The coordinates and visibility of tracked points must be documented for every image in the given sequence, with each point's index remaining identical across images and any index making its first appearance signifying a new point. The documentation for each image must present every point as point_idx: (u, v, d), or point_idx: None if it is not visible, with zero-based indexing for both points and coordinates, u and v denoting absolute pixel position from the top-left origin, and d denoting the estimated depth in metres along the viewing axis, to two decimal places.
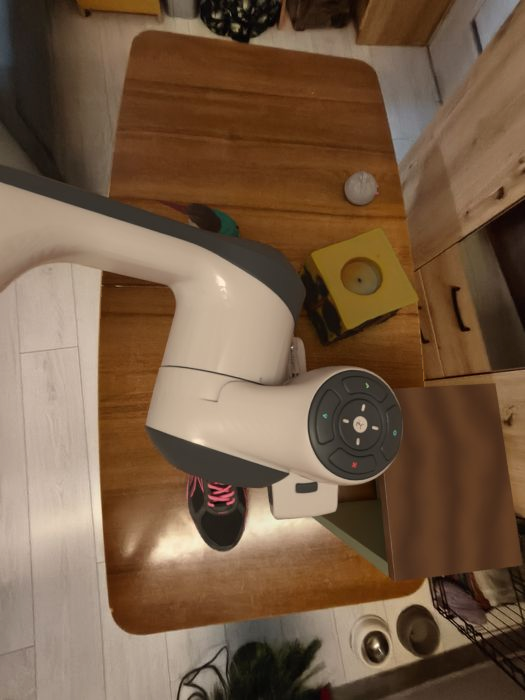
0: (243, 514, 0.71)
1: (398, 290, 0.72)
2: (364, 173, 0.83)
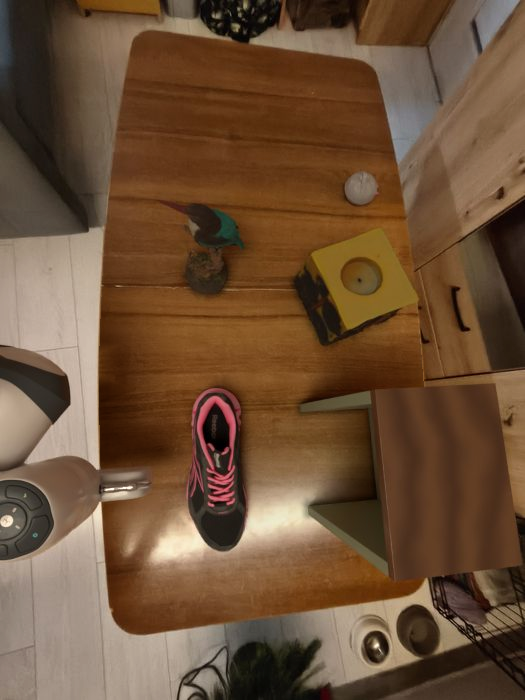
0: (243, 514, 0.71)
1: (398, 290, 0.72)
2: (364, 173, 0.83)
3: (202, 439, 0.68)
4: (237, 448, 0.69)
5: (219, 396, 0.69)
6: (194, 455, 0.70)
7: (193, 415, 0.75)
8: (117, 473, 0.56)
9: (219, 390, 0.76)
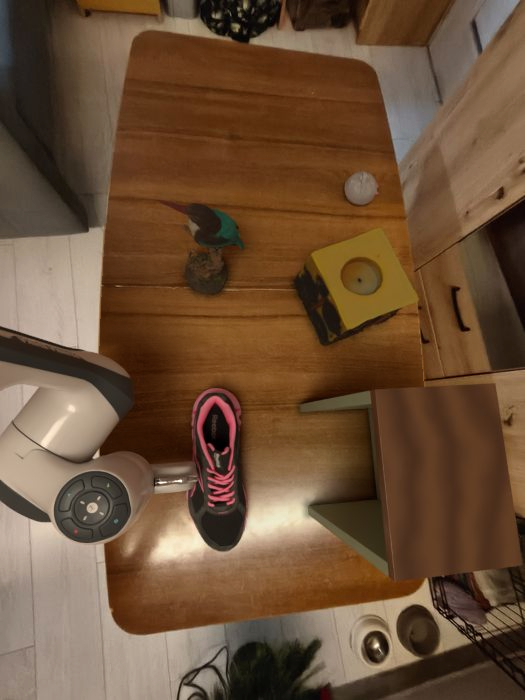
0: (243, 514, 0.71)
1: (398, 290, 0.72)
2: (364, 173, 0.83)
3: (202, 439, 0.68)
4: (237, 448, 0.69)
5: (219, 396, 0.69)
6: (194, 455, 0.70)
7: (193, 415, 0.75)
8: (168, 467, 0.60)
9: (219, 390, 0.76)
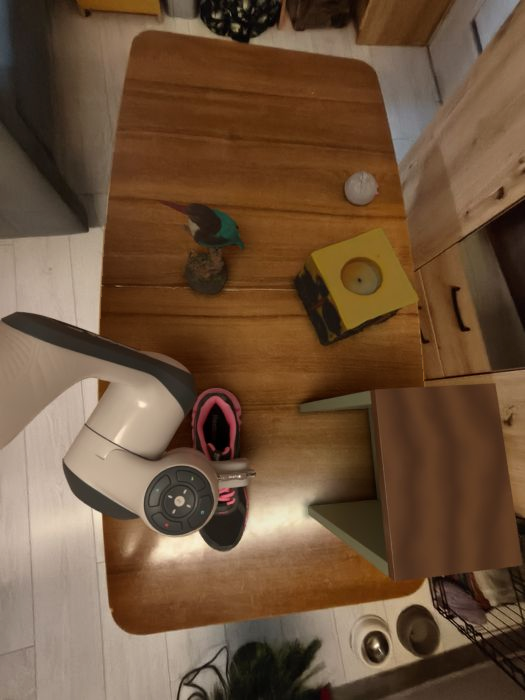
0: (243, 514, 0.71)
1: (398, 290, 0.72)
2: (364, 173, 0.83)
3: (202, 439, 0.68)
4: (237, 448, 0.69)
5: (219, 396, 0.69)
6: None
7: (193, 415, 0.75)
8: (227, 463, 0.61)
9: (220, 390, 0.76)
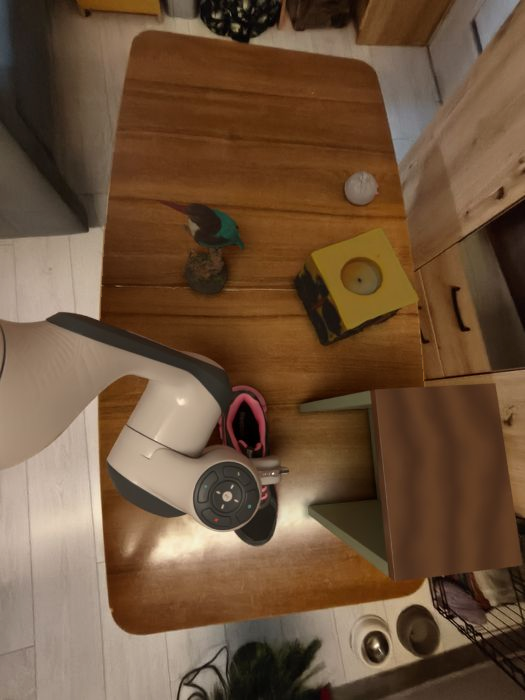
0: (275, 508, 0.72)
1: (398, 290, 0.72)
2: (364, 173, 0.83)
3: (233, 436, 0.69)
4: (267, 444, 0.70)
5: (248, 393, 0.69)
6: None
7: None
8: (260, 461, 0.62)
9: (245, 387, 0.77)
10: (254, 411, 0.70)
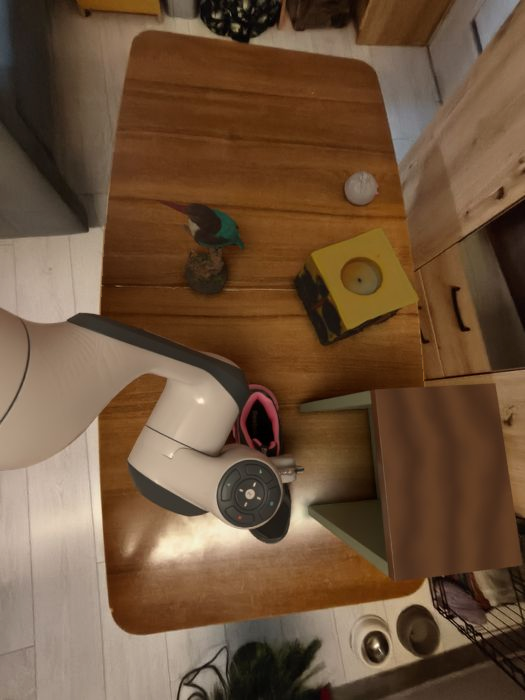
0: (289, 506, 0.72)
1: (398, 290, 0.72)
2: (364, 173, 0.83)
3: (247, 435, 0.69)
4: (281, 442, 0.70)
5: (261, 392, 0.70)
6: None
7: None
8: (275, 459, 0.63)
9: (257, 386, 0.77)
10: (267, 410, 0.71)
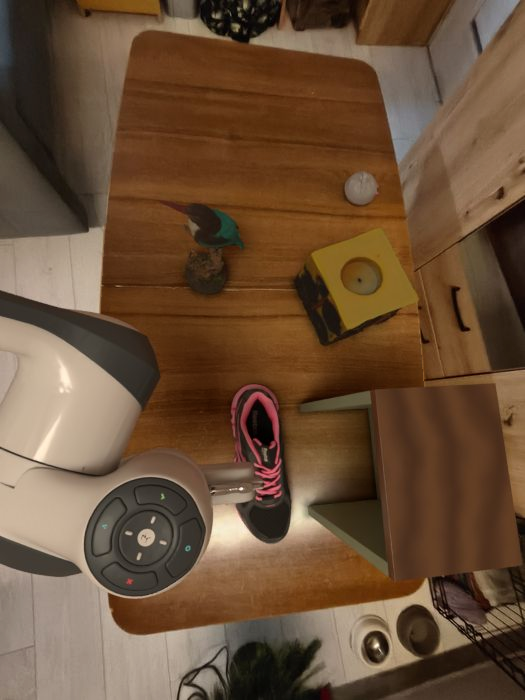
0: (289, 506, 0.72)
1: (398, 290, 0.72)
2: (364, 173, 0.83)
3: (247, 435, 0.69)
4: (281, 442, 0.70)
5: (261, 392, 0.70)
6: (239, 451, 0.71)
7: (233, 412, 0.76)
8: (223, 470, 0.44)
9: (257, 386, 0.77)
10: (267, 409, 0.71)
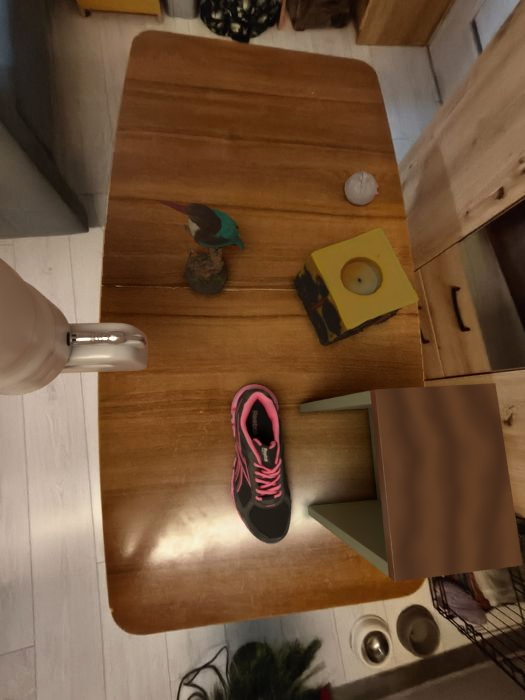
0: (289, 506, 0.72)
1: (398, 290, 0.72)
2: (364, 173, 0.83)
3: (247, 435, 0.69)
4: (281, 442, 0.70)
5: (261, 392, 0.70)
6: (239, 451, 0.71)
7: (233, 412, 0.76)
8: (95, 323, 0.38)
9: (257, 386, 0.77)
10: (267, 409, 0.71)
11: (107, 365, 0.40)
